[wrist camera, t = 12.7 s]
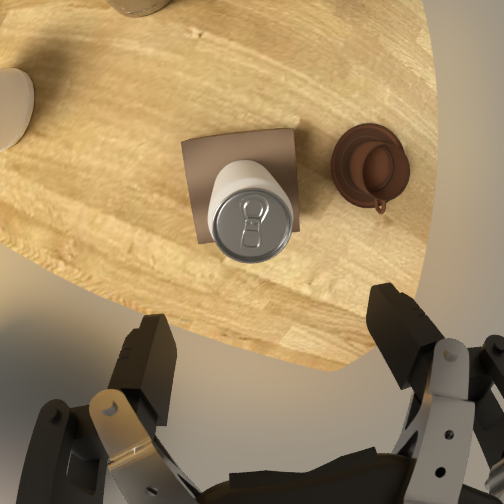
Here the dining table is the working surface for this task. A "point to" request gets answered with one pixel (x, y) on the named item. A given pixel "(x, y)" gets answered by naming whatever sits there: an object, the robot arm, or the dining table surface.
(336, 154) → the cup and saucer
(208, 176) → the walnut block
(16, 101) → the bottle
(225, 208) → the can
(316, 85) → the dining table surface
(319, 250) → the dining table surface
